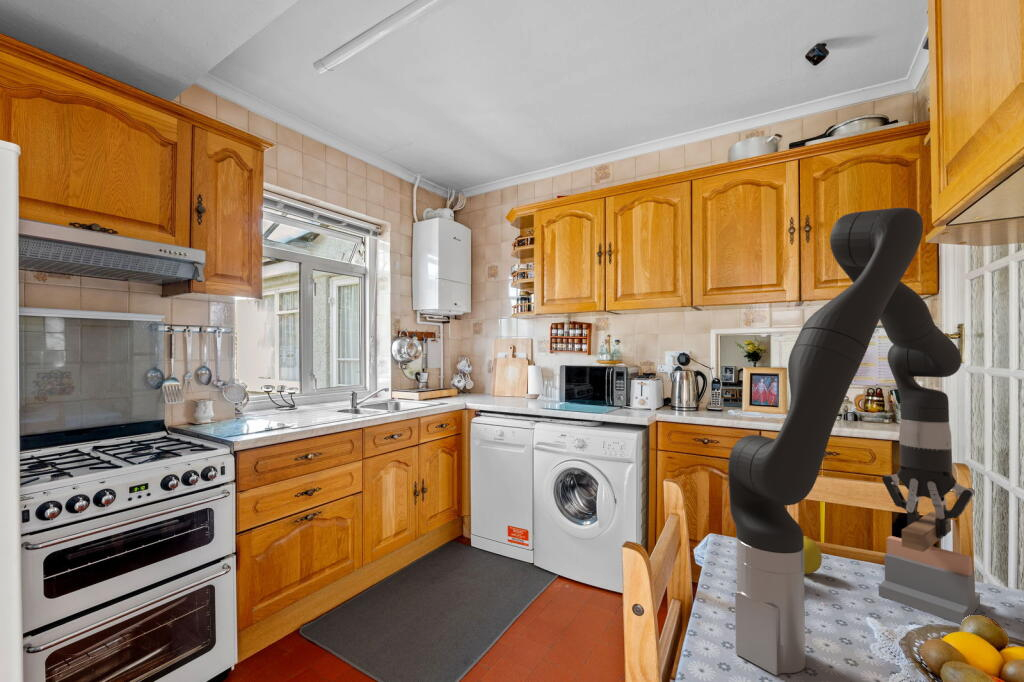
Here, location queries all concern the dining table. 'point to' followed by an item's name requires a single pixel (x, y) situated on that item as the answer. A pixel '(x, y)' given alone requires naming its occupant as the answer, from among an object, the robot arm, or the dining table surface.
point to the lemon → (811, 556)
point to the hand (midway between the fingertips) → (927, 534)
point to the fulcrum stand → (930, 580)
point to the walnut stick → (921, 533)
